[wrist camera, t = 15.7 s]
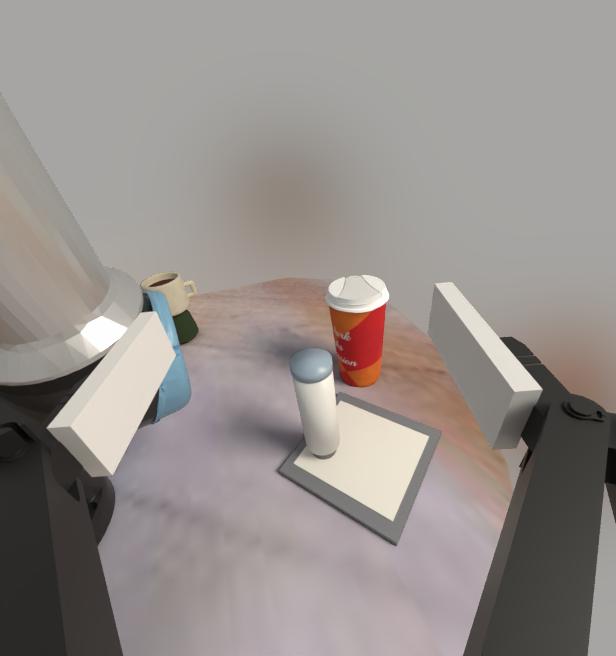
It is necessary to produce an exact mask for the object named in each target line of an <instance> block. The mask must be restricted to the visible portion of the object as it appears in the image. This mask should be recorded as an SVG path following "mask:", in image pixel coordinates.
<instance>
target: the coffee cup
mask: <svg viewBox="0 0 616 656" xmlns="http://www.w3.org/2000/svg"><path fill="white" fill-rule="evenodd" d="M388 299H389V293H388V291H387V289H386V286H385V284H384V282H383V281H382V280H380V279H379V278H377V277H373V276H368V275H362V277H358V276H349V278H346V280H345V277H342V278H340V279H337V280H335V281H334V282H332V283H331V284H330V286H329V288H328V293H327V295H326V298H325V300H326V303H327V304H328V305H329V309H330V315H331V321H332V327H333V333H334V339H335V345H336V351H337V357H338V363H339V368H340V373H341V377H342V379H343V381H344V382H346V383H347V384H349V385H351V386H354V387H367V386H370V385H372V384H374V383H375V382H376V381H377V380H378V378H379V375H380V368H381V358H382V346H383V334H384V321H385V309H386V302H387V300H388Z"/></svg>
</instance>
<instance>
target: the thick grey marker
mask: <svg viewBox="0 0 616 656" xmlns="http://www.w3.org/2000/svg"><path fill="white" fill-rule="evenodd" d="M289 364H290V369H291V374H292V377H293V382H294V387H295V392H296V396H297V401H298V406H299V411H300V416H301V421H302V426H303V431H304V436H305V441H306V445H307V448H308V449H309V450H310V451H311V452H312V453H313V455H314V456H315V457H316V458H318V459H322V460H325V459H329V458H331V457H332V456H334V454H335V453H336V450H337V448H338V446H339V444H340V434H339V425H338V416H337V406H336V397H335V388H334V378H333V364H332V357H331V355H330V353H328V352H327V351H326V350H323V349H320V348H307V349H304V350H301V351H299V352H297V353H296V354H294V355H293V356H292V358H291V359H290V363H289Z"/></svg>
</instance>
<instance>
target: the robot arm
mask: <svg viewBox="0 0 616 656" xmlns="http://www.w3.org/2000/svg"><path fill="white" fill-rule="evenodd" d="M428 334H429V336H430V337H431V339H432V341H433V343H434V345H435V347H436V348H437V350H438V352H439V354H440V356H441V357H442V359H443V361H444V363H445V365H446V367H447V368H448V370H449V372H450V374H451V376H452V378H453V379H454V381H455V383H456V385H457V387H458V388H459V390H460V392H461V394H462V396H463V398H464V399H465V401H466V403H467V405H468V407H469V409H470V410H471V412H472V414H473V416H474V418H475V419H476V421H477V423H478V425H479V427H480V429H481V430H482V432H483V434H484V436H485V438H486V439H487V441H488V443H489V445H490V447H491V449H492V450H497V449H512V448H516V447H517V445H518V443H519V440H520V438H521V437H522V438H523V440H524V441H525V443H526V445H527V446H528V450H527V452H526V454H525V456H524V458H523V460H522V462H521V464H520V466H519V467H521V470H520V473H519V477H518V480H517V483H516V486H515V489H514V493H513V496H512V499H511V502H510V506H509V509H508V512H507V515H506V518H505V522H504V525H503V528H502V531H501V535H500V538H499V541H498V544H497V548H496V551H495V554H494V557H493V560H492V564H491V567H490V570H489V573H488V577H487V580H486V583H485V586H484V590H483V593H482V596H481V599H480V602H479V606H478V609H477V612H476V615H475V619H474V622H473V625H472V628H471V631H470V635H469V638H468V641H467V644H466V648H465V651H464V654H463V656H587V655H588V644H589V634H590V624H591V614H592V603H593V594H594V584H595V574H596V564H597V554H598V544H599V534H600V524H601V513H602V503H603V493H604V483H605V484H606V488H607V491H608V495H609V498H610V503H611V507H612V510H613V515H614V518H615V522H616V414H614V413H608V412H606V411H605V410H604V409H603V408H602V407H601V406H600V405H598V404H597V403H595V402H594V401H592V400H590V399H587V398H585V397H583V396H579V395H574V394H570V393H569V392H568V391H567V389H566V388H565V387H564V386H563V385H562V384H561V383H560V382H559V381H558V380H557V379H556V378H555V377H554V375H553V374H552V373H551V372H550V371H549V370H548V369H547V368H546V367H545V366H544V365H543V364H541V362H540V360H539V359H538V358H537V357H536V356H534V354H533V353H532V352H531V351H530V350H529V349H528V348H527V347H526V346H525V345H524V344H523V343H521V342H519V341H517V340H516V339H514V338H513V337H502V338H498V336H497V335H496V334H495V332H494V331H493V330H492V329H491V328H490V327H489V325H488V324H487V323H486V322H485V321H484V320H483V318H482V317H481V316H480V315H479V314H478V313H477V311H476V310H475V309H474V308H473V307H472V305H471V304H470V303H469V302H468V301H467V299H466V298H465V297H464V296H463V295H462V294H461V292H460V291H459V290H458V289H457V288H456V287H455V285H454V284H453V283H452V282H447V283H438V284H434V292H433V299H432V307H431V313H430V321H429V329H428ZM190 398H191V385H190V381H189V377H188V373H187V369H186V365H185V362H184V358H183V355H182V351H181V349H180V344H179V340H178V336H177V332H176V328H175V325H174V321H173V318H172V315H171V311H170V308H169V305H168V302H167V299H166V296H165V295H164V293H162V292H160V291H154V292H152V291H147V292H144V293H142V291H141V289H140V287H139V285H138V284H137V283H136V281H135V280H134V279H133V278H132V277H131V276H129V275H128V274H127V273H124V272H122V271H120V270H117V269H114V268H109V267H104V266H103V265H102V263H101V262H100V260H99V258H98V256H97V255H96V253H95V251H94V250H93V248H92V246H91V245H90V243H89V241H88V239H87V238H86V236H85V234H84V233H83V231H82V229H81V228H80V226H79V224H78V223H77V221H76V219H75V218H74V216H73V214H72V212H71V211H70V209H69V208H68V206H67V204H66V203H65V201H64V199H63V197H62V196H61V194H60V192H59V191H58V189H57V187H56V186H55V184H54V182H53V180H52V179H51V177H50V175H49V174H48V172H47V170H46V169H45V167H44V165H43V164H42V162H41V160H40V158H39V157H38V155H37V153H36V152H35V150H34V149H33V147H32V145H31V143H30V142H29V140H28V138H27V137H26V135H25V133H24V131H23V130H22V128H21V127H20V125H19V123H18V121H17V120H16V118H15V116H14V115H13V113H12V111H11V110H10V108H9V106H8V105H7V103H6V101H5V99H4V98H3V96H2V94H1V93H0V656H123V653H122V649H121V645H120V641H119V636H118V632H117V628H116V624H115V619H114V615H113V611H112V607H111V603H110V598H109V594H108V590H107V586H106V581H105V577H104V573H103V569H102V565H101V560H100V556H99V552H98V548H97V546H98V544H99V542H100V541H101V539H102V537H103V535H104V534H105V532H106V530H107V527H108V525H109V523H110V520H111V517H112V514H113V510H114V504H115V492H114V488H113V485H112V483H111V481H110V480H109V478H108V477H107V476H112V475H113V474H114V472H115V470H116V468H117V466H118V464H119V462H120V460H121V458H122V457H123V455H124V453H125V451H126V449H127V447H128V445H129V443H130V441H131V440H132V438H133V436H134V434H135V432H136V430H137V429H139V428H141V427H144V426H146V425H149V424H154V423H157V422H158V421H159V420H160V419H161V418H163V417H165V416H168V415H170V414H172V413H174V412H176V411H178V410H180V409H182V408H184V407H185V406H186V405H187V404H188V402H189V400H190Z"/></svg>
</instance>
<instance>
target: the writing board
mask: <svg viewBox="0 0 616 656" xmlns="http://www.w3.org/2000/svg"><path fill="white" fill-rule="evenodd" d="M336 406H337V416H338V425H339V434H340V444H339V446H338V448H337V450H336V453H335V454H334V456H332V457H331V458H329V459H325V460H322V459H318V458H316V457H315V456H314V455H313V453H312V452H311V451H310V450H309V449H308V448H307V445H306V441H305V437H304V438H303V440H302V441H301V442H300V443H299V445H298V446H297V447H296V449H295V450H294V451H293V452H292V454H291V455H290V456H289V458H288V459H287V460H286V461H285V463H284V464H283V465H282V467H281V468H280V469H279V473H280V474H282V475H284V476H285V477H287V478H288V479H290V480H292V481H293V482H295V483H296V484H298V485H300V486H301V487H303V488H304V489H306V490H308V491H309V492H311V493H312V494H314V495H316V496H317V497H319V498H320V499H322V500H324V501H325V502H327V503H328V504H330V505H332V506H333V507H335V508H336V509H338V510H340V511H341V512H343V513H345V514H346V515H348V516H349V517H351V518H353V519H354V520H356V521H357V522H359V523H361V524H362V525H364V526H365V527H367V528H369V529H370V530H372V531H373V532H375V533H377V534H378V535H380V536H381V537H383V538H385V539H386V540H388V541H389V542H391V543H393V544H394V545H396V546H397V544H398V541H399V539H400V536H401V534H402V531H403V529H404V526H405V524H406V521H407V519H408V516H409V514H410V511H411V509H412V506H413V504H414V501H415V499H416V496H417V494H418V491H419V489H420V486H421V484H422V481H423V479H424V476H425V474H426V471H427V469H428V466H429V464H430V461H431V459H432V456H433V454H434V451H435V449H436V446H437V443H438V441H439V438H440V436H441V432H442V431H440V430H437V429H435V428H432V427H430V426H427V425H424V424H422V423H419V422H417V421H414V420H412V419H409V418H406V417H404V416H401V415H399V414H396V413H394V412H391V411H388V410H386V409H383V408H381V407H378V406H375V405H373V404H370V403H368V402H365V401H363V400H360V399H357V398H355V397H352V396H350V395H347V394H345V393H342V392H339V394H338V395H337V396H336Z"/></svg>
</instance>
